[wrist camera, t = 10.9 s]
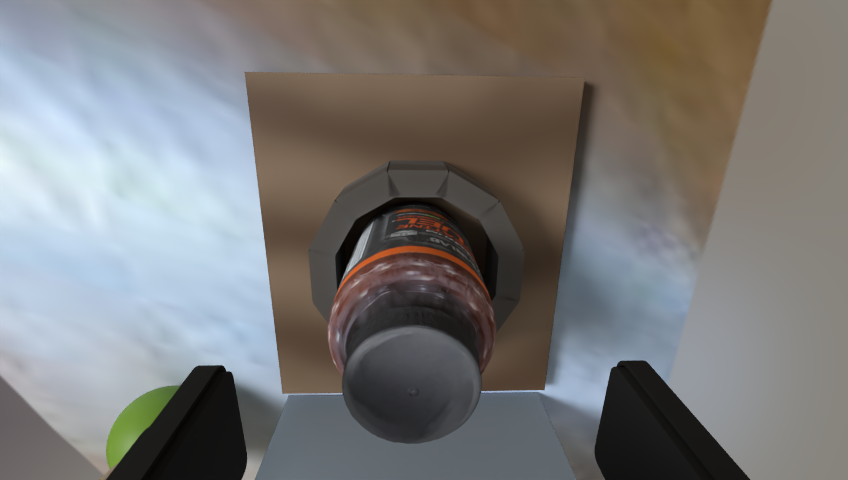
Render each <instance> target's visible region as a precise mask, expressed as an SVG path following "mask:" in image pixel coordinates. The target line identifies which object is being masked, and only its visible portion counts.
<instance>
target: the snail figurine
mask: <svg viewBox="0 0 848 480" xmlns="http://www.w3.org/2000/svg"><path fill="white" fill-rule="evenodd" d="M179 387H180V386H166V387H162V388H158V389H155V390H152V391H150V392H147V393H145V394H144V395H142V396H140V397H139V398H137V399H136V400H134V401H133V402H132V403H131V404H129V405H128V406H127V407H126V408H125V409H124V410H123V411H122V413H121V414H120V415H119V416H118V418H117V419H116V421H115V423H114V424H113V426H112V428H111V431H110V433H109V436H108V440H107V447H106V456H107V462H108V465H109V468H110V470H109V471H108V472H107V473H106V474H105V475H103V476H102V477H101V478H100V479H99V480H106V479H107V477H108V476H109V475H110V474H111V472H112V471H113V470H114V468H115V467H116V466H117V464H118V463H119V462H120V461H121V459H122V458H123V457H124V455H125V454H126V453H127V452H128V450H129V449H130V448H131V446H132V445H133V444H134V442H135V441H136V440H137V439H138V437H139V436H140V435H141V434H142V432H143V431H144V430H145V429H146V428H148V427H150V425H151V424H152V423H153V421H154V420H155V419H156V417H157V416H158V415H159V414H160V412H161V411H162V410H163V408H164V407H165V406H166V404H167V403H168V402H169V400H170V399H171V398H172V397H173V395H174V394H175V393H176V391H177V390H178V389H179Z"/></svg>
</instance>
